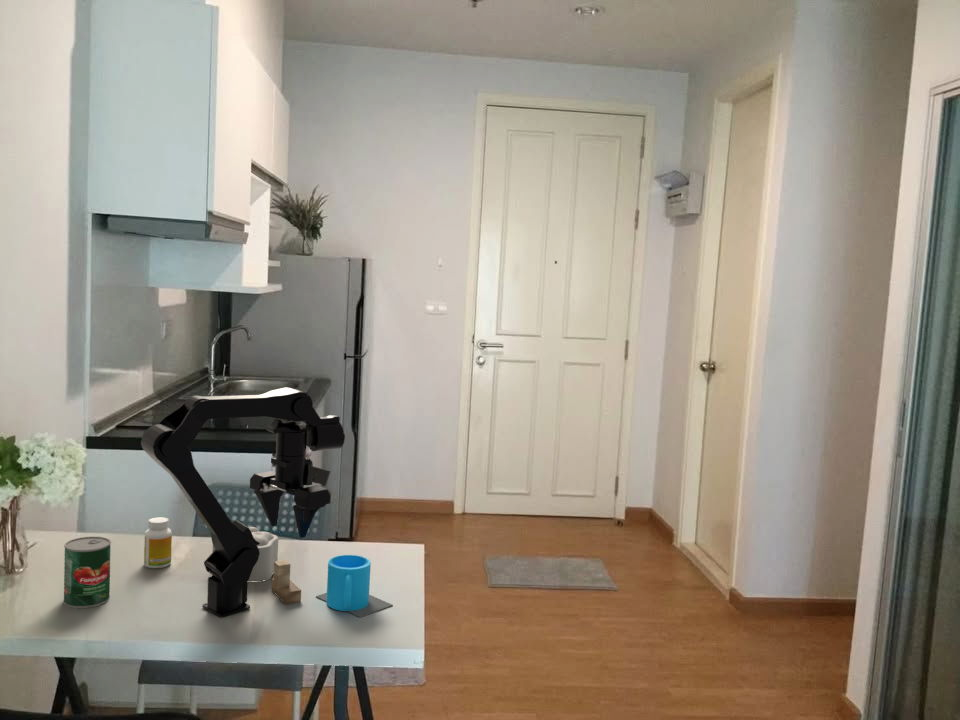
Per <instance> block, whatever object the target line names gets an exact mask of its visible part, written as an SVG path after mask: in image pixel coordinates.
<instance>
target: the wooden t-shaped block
mask: <svg viewBox="0 0 960 720" xmlns="http://www.w3.org/2000/svg"><path fill="white" fill-rule="evenodd" d="M271 589H272V590H273V591H274V592H275V593H276V594H277V595H278V596H279V597H280V598H281V599H282V600H283V601H284V602H285V603H284V602H283V601H282V600H281V599H280V598H279V597H278V596H277V595H276V594H275V593H274V592H273V591H272V590H271V591H272V592H273V593H274V594H275V595H276V596H277V597H278V598H279V599H280V600H281V601H282V602H283V603H284V604H285V605H291V603H292V604H297V603H301V602H302V589H301V588H300V587H298V585H296V584H295V583H294V582H293V580H291V563H290V562H289V561H288V560H285V559H284V560H278V561H276V562H274V573H273V578H271ZM296 602H297V603H296Z"/></svg>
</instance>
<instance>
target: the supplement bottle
mask: <svg viewBox="0 0 960 720" xmlns="http://www.w3.org/2000/svg"><path fill="white" fill-rule="evenodd" d="M147 525H148V529H146V531H145V532H144V543H143V545H144V547H143V550H144V551H143V556H144V557H143V564H144V566H145V567H146V568H149V569H163V568H166V567H169V566H170V565H171V563H172V543H173V542H172V536H173V532H172V530H171V528H169V526H170V525H169V518H168V517H162V516H161V517H160V516H158V517H153V518H150V519H148V523H147Z"/></svg>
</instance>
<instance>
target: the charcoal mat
mask: <svg viewBox="0 0 960 720" xmlns="http://www.w3.org/2000/svg"><path fill="white" fill-rule="evenodd" d="M315 598H317V599H319V598H320V600H321V599H322V600H321V601H324V602H325V603H326V600H327V592H324V593H321V594H318V595H316V596H315ZM390 607H393V604H392V603H390V602H387V601H385V600H382V599H380V598H378V597H376V596H374V595H371V594H369V603H368V605H367V606H366V607H365V608H362V609H359V610H354V611H346V612H347V613H349V614H351V615H354V616H355V617H357V618H362V617H365V616H368V615H371V614H374V613H376V612H379V611H382V610H385V609H387V608H390Z"/></svg>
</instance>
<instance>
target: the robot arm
mask: <svg viewBox="0 0 960 720" xmlns="http://www.w3.org/2000/svg"><path fill="white" fill-rule="evenodd" d="M313 404H314V403H313V399H312V397H311V396H310V394H308V393H307V392H305V391H302V390H300V389H295V388H291V387H282V388H277V389H271V390H269V391H267V392H265V393H262V394H245V395H241V394H240V395H213V396H212V395H211V396H210V395H209V396H201V395H191V396H190V397H189V398H187V399H186V400H185V401H184V402H183V403H182V404H181V405H180V406H179V407H177V408H175V409H174V410H173V411H171V412H169V413H168V414H167V415H165V416H164V417H163V418H162V419H160V421H158V423H157V424H153V425H151V426H150V427H148V428H147V429H146V430H145V431H144V433H143V435H142V438H141V440H140V444H141V448H142V450H143V451H144V452H145V453H146V454H147V455H148V456H149V458H151V459H152V460H153V461H154V462H155V463H157V464H158V465H159V466H160V467H161V468H162V469H163V470H164V471H166V472H167V473H168V474H169V475H170V476H171V477H172V479H173V480H174V481H175V483H176V485H177V486H178V488H179V489H180V490H181V492H182V493H183V494H184V497H185V498H186V499H187V501H188V503H190V504H191V506H192V508H193V509H194V510H195V512H196V514H197V515H198V516H199V518H200V519H201V521H202V522H203V523H204V525H205V527H206V528H207V529H208V531H209V534H210V538H211V543H212V546H213V545H214V548H215V550H214V551H213V550H212V553H211V554H209V556H208V557H207V558H206V559H205V560H204V561H203V565H204V567H205V571H206V572H207V573H209V574H210V575H211V576H209V577H208V578H207V598H206V599H207V602H205V603H203V604H202V605H201V606H202V608H203V609H205V610H207V612H208V611H209V612H210V613H213V615H216V616H218V617H219V618H222V617H226V616H229V615H233V614H237V613H240V612H243V611H247V610H249V609H251V605H250V604H248V603H247V602H248V588H249V587H248V586H249V582H247V581H248V580H249V578H250V575H251V572H252V570H253V567H254V565H255V564H256V563H257V561H258V558H259V555H260V551H259V548H258V547H257V545H259V544H260V543H259V542H258V541H256V540H255V539H254V537H253V535H252V533H251V531H250V529H249V526H247V525H245V524H244V523H242V522H240V521H239V520H237V519H234V521H233V522H232V519H230V517H229V516H228V514H227V513H226V511H225V510H224V508H223V507H222V506H221V504H220V502H219V501H218V499H217V498H216V497H215V495H214V494H213V492H212V491H211V489H210V487H209V486H208V484H207V483H206V481H205V480H204V479H203V477H202V476H201V474H200V473H199V471H198V470H197V469H196V467H195V464H194V458H193V454H192V453H193V452H192V451H191V448H190V446H189V445H190V444H191V443H193V442H194V440H195V439H196V438H197V437H198V434H199V433H200V431H201V430H202V427H203V426H204V424H205V423H206V422H207V421H208V420H214V419H218V420H219V419H237V418H257V417H267V418H274V419H273V421H272V422H271V423H269V424H268V425H267V426H265V430H266V431H268V432H270V433H273V434H276V439H275V440H276V442H275V443H276V446H275V456H274V457H270V463H271V464H273V465H275V468H274V470H275V471H274V470H269V471H263V472H257V473H254V474H253V475H252V476H251V477H250V479H249V488H250V489H251V490H253V494H255V495H256V498H257V499H258V501H259V503H260V504H261V507H262V509H263V511H264V513H265V515H266V517H267V519H268V522H269V524H270V526H271V527H276V526H277V524H278V521H279V512H280V504H281V503H280V501H281V498H282V496H283V495H284V493H286V494H289V495H292V496H293V501H294V503H295V505H292V508H293V511H294V512H293V513H294V516H295V517H294V518H295V522H296V528H297V532H298V535H299V538H301V539H302V538H306V536H307V533H308V532H309V529H310V527H311V524H312V521H313V519H314V517H315V515H316V513H317V512H318V511H319V510H321V508H324V507H325V506H326V505H330V504H331V502H332V492H331V491H330V490H329V488H326V486H327V484H328V481H329V477H330V474H331V470H329V469H328V470H327V469H325V468H321V467H318V466H314V465H313V464H314V463H313V461H312V460H311V458H309V457H307V447H308V448H309V450H311V452H320V451H321V452H322V451H329V450H340V449H341V448H342V447H344V445H345V444H344V443H345V439H346V434H345V432H344V428H343V425H342V424H341V422H340V419H341V417H340V416H338V415H336V414H330V415H327V416H319V414H318V413H317V411H316V410H315V407H314V406H313ZM282 420H285V421H282ZM297 422H301V423H304V424H298V423H297ZM313 483H314V484H319V485H321V486H319V485H313ZM311 485H312V486H311ZM304 486H306V487H304ZM322 486H323V487H322Z"/></svg>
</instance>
